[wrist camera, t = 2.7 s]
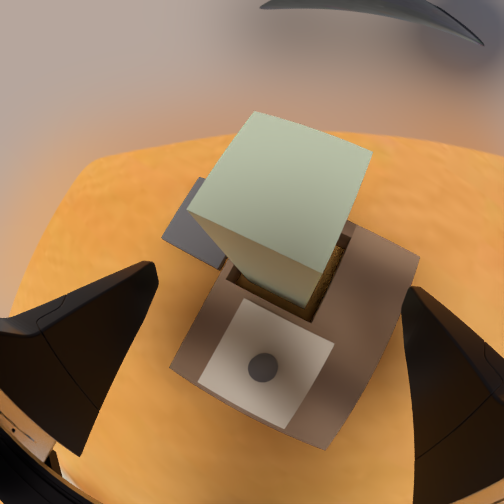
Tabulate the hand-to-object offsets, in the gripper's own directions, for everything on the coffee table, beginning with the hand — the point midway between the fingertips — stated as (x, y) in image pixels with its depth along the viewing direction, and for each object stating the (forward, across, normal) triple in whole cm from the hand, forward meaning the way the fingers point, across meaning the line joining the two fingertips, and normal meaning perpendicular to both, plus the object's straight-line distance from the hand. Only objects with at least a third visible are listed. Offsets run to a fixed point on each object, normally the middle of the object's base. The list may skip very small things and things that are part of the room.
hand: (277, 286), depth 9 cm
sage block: (+9, 0, +5) cm, 11 cm away
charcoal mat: (+12, +7, +3) cm, 14 cm away
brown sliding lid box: (+7, -1, +8) cm, 10 cm away
